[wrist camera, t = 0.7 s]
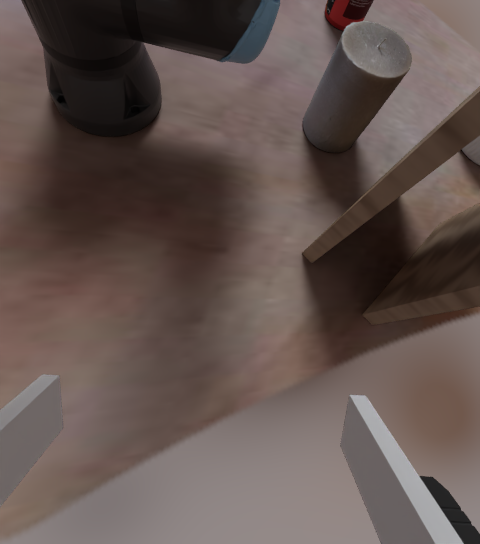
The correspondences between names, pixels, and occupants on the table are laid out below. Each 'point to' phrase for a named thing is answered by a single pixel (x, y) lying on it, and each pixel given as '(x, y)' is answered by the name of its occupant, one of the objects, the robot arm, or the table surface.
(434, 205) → the table surface
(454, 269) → the stand
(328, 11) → the canned food
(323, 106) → the pillar candle
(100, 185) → the table surface
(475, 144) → the ramekin
